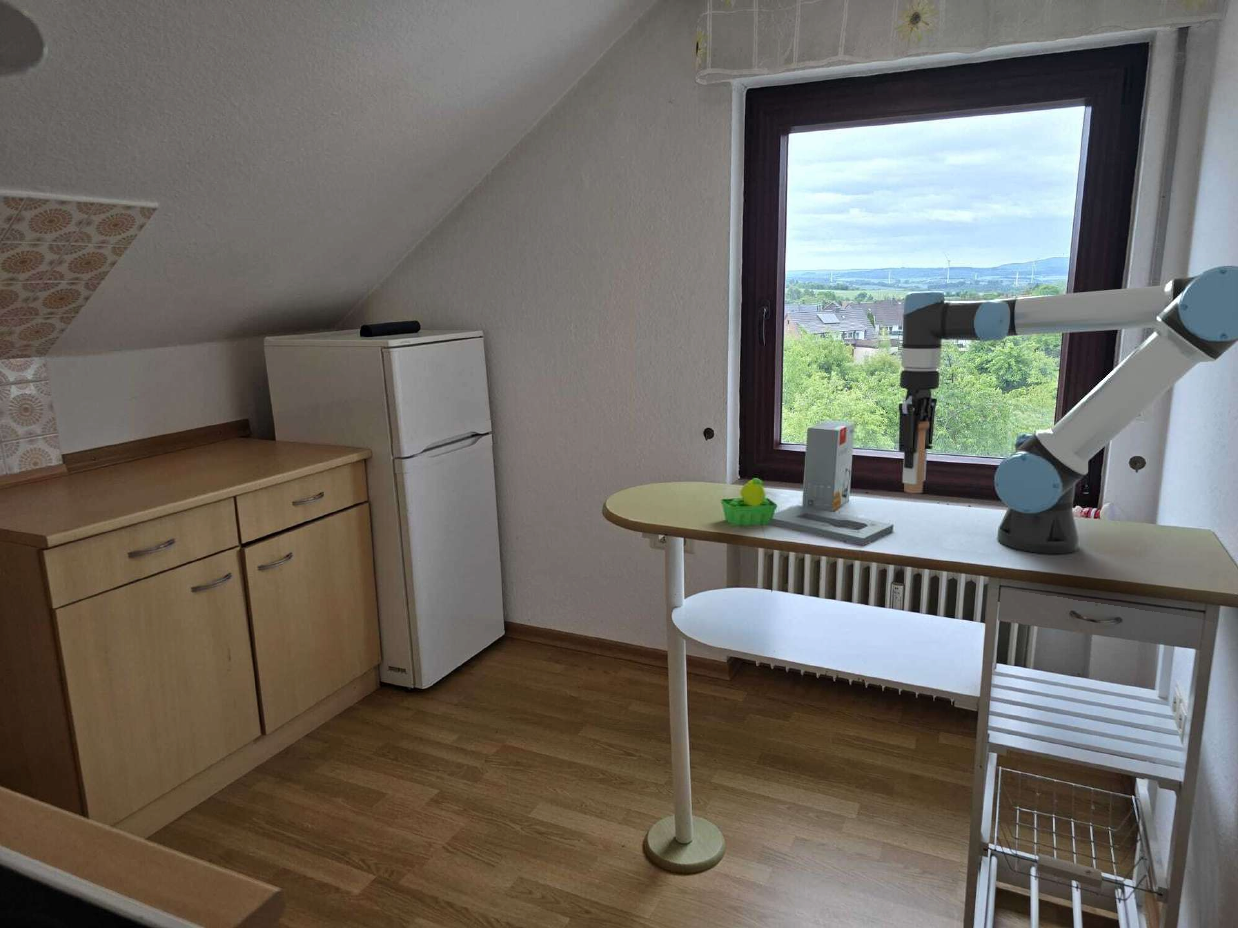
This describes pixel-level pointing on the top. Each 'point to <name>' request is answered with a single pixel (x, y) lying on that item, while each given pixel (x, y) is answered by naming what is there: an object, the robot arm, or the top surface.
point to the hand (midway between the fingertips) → (913, 481)
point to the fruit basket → (749, 506)
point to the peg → (919, 460)
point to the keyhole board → (822, 522)
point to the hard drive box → (828, 465)
